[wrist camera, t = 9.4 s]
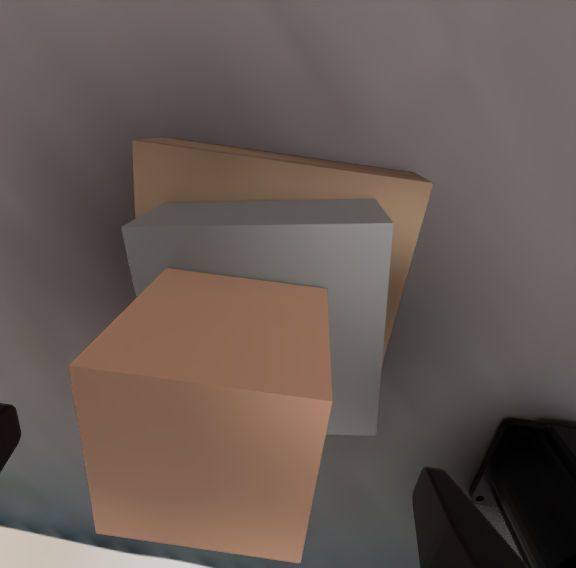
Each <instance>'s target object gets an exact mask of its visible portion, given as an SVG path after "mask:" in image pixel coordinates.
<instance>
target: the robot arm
mask: <svg viewBox="0 0 576 568" xmlns="http://www.w3.org/2000/svg"><path fill="white" fill-rule="evenodd" d="M512 428H513V429H512ZM20 437H21V429H20V424H19V420H18V415H17V411H16V408H15V407H14V406H13V405H10V404H3V403H0V472H1V471H2V469H3V467H4V466H5V464H6V462H7V461H8V459H9V458H10V456H11V454H12V453H13V451H14V450H15V448H16V446H17V445H18V443H19V440H20ZM469 495H470V497H471V500H472V501H471V500H470V499H469V498H468V497H467V496H466V494H465V493H464V492H463V491H462V490H461V489H460V487H459V486H458V485H457V484H456V483H455V482H454V480H453V479H452V478H451V477H450V476H449V475H448V474H447V472H446V471H444V470H443V469H440V468H433V467H424V468H423V469H422V471H421V473H420V476H419V478H418V481H417V483H416V486H415V488H414V491H413V510H414V519H415V527H416V535H417V544H418V552H419V560H420V568H576V429H575V428H569V427H562V426H555V425H549V424H542V423H536V422H529V421H522V420H516V419H509V420H506V421H505V422H503V424H502V425H501V427H500V429H499V431H498V433H497V435H496V437H495V439H494V441H493V444H492V446H491V448H490V450H489V452H488V454H487V456H486V458H485V460H484V462H483V464H482V466H481V468H480V470H479V473H478V475H477V477H476V479H475V481H474V483H473V485H472V487H471V489H470V491H469ZM472 502H473V503H475V504H480V505H486V506H493V507H498V508H499V510H500V512H501V514H502V517H503V519H504V521H505V523H506V525H507V527H508V529H509V532H510V534H511V536H512V538H513V540H514V542H515V544H516V547H517V549H518V551H519V553H520V555H521V557H522V559H523V561H522V559H521V558H520V557H519V556H518V555H517V554H516V552H515V551H514V550H513V549H512V548H511V547H510V545H509V544H508V543H507V542H506V541H505V540H504V538H503V537H502V536H501V535H500V534H499V533H498V532H497V530H496V529H495V528H494V527H493V526H492V525H491V523H490V522H489V521H488V520H487V519H486V518H485V516H484V515H483V514H482V513H481V512H480V511H479V509H478V508H477V507H476V506H475V505H474V504H473V503H472Z"/></svg>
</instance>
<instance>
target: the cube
mask: <svg viewBox="0 0 576 568" xmlns="http://www.w3.org/2000/svg"><path fill="white" fill-rule="evenodd" d="M69 371H70V377H71V384H72V390H73V396H74V402H75V408H76V414H77V420H78V426H79V432H80V438H81V444H82V450H83V456H84V462H85V468H86V474H87V480H88V486H89V492H90V499H91V505H92V511H93V517H94V523H95V529H96V533H97V534H104V535H111V536H118V537H125V538H131V539H138V540H145V541H152V542H159V543H165V544H172V545H179V546H186V547H193V548H199V549H206V550H213V551H220V552H227V553H233V554H240V555H247V556H254V557H261V558H267V559H274V560H281V561H288V562H295V563H300V562H301V557H302V552H303V547H304V542H305V537H306V532H307V527H308V522H309V517H310V512H311V507H312V502H313V497H314V492H315V487H316V482H317V477H318V472H319V466H320V461H321V456H322V451H323V446H324V441H325V436H326V431H327V426H328V421H329V416H330V411H331V406H332V382H331V360H330V338H329V316H328V294H327V289H326V288H319V287H311V286H303V285H295V284H287V283H280V282H272V281H264V280H256V279H248V278H241V277H233V276H225V275H217V274H209V273H202V272H194V271H186V270H178V269H170V268H166V269H165V270H164V271H163V272H162V273H161V274H160V275H159V276H158V277H157V278H156V279H155V280H154V281H153V282H152V283H151V284H150V285H149V286H148V287H147V288H146V289H145V290H144V291H143V292H142V293H141V294H140V295H139V296H138V297H137V298H136V299H135V300H134V301H133V302H132V303H131V304H130V305H129V306H128V307H127V308H126V309H125V310H124V311H123V312H122V313H121V314H120V315H119V316H118V317H117V318H116V319H115V320H114V321H113V322H112V323H111V324H110V325H109V326H108V327H107V328H106V329H105V330H104V331H103V332H102V333H101V334H100V335H99V336H98V337H97V338H96V339H95V340H94V341H93V342H92V343H91V344H90V345H89V346H88V347H87V348H86V349H85V350H84V351H83V352H82V353H81V354H80V355H79V356H78V357H77V358H76V359H75V360H74V361H73V362H72V363H71V364H70V365H69Z"/></svg>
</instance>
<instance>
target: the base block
mask: <svg viewBox="0 0 576 568" xmlns="http://www.w3.org/2000/svg"><path fill="white" fill-rule="evenodd" d="M132 150H133V177H134V203H135V219H136V218H138V217H140V216H141V215H143V214H145V213H147V212H148V211H150V210H152V209H154V208H155V207H157V206H159V205H161V204H162V203H179V202H229V201H280V200H331V199H376V200H377V202H378V203H379V204H380V206H381V207H382V208H383V210H384V211H385V212H386V214H387V215H388V216H389V218H390V219H391V220H392V222H393V235H392V247H391V260H390V272H389V284H388V296H387V308H386V321H385V333H384V345H383V357H382V364H383V361H384V357H385V353H386V350H387V346H388V343H389V339H390V336H391V332H392V329H393V325H394V321H395V318H396V314H397V311H398V307H399V304H400V300H401V296H402V293H403V289H404V286H405V282H406V279H407V275H408V272H409V268H410V264H411V261H412V257H413V254H414V250H415V247H416V243H417V239H418V236H419V232H420V229H421V225H422V222H423V218H424V214H425V211H426V207H427V204H428V200H429V197H430V193H431V190H432V186H433V183H432V182H430V181H429V180H427V179H425V178H423V177H421V176H419V175H418V174H416V173H414V172H407V171H400V170H393V169H386V168H379V167H372V166H365V165H358V164H351V163H344V162H337V161H329V160H322V159H315V158H308V157H301V156H294V155H287V154H280V153H273V152H266V151H259V150H252V149H245V148H238V147H231V146H224V145H217V144H210V143H203V142H196V141H189V140H182V139H175V138H168V137H155V138H147V139H139V140H132Z"/></svg>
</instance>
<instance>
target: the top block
mask: <svg viewBox="0 0 576 568" xmlns="http://www.w3.org/2000/svg"><path fill="white" fill-rule="evenodd" d="M121 230H122V235H123V239H124V244H125V249H126V253H127V258H128V262H129V267H130V272H131V276H132V281H133V286H134V290H135V295H136V298H137V297H138V296H139V295H140V294H141V293H142V292H143V291H144V290H145V289H146V288H147V287H148V286H149V285H150V284H151V283H152V282H153V281H154V280H155V279H156V278H157V277H158V276H159V275H160V274H161V273H162V272H163V271H164V270H165V269H166V268H170V269H178V270H186V271H194V272H202V273H209V274H217V275H225V276H233V277H241V278H248V279H256V280H264V281H272V282H280V283H287V284H295V285H303V286H311V287H319V288H326V289H327V294H328V316H329V338H330V360H331V382H332V406H331V411H330V416H329V421H328V426H327V431H326V434H331V435H371V436H376V431H377V418H378V406H379V394H380V382H381V370H382V357H383V345H384V333H385V321H386V308H387V296H388V284H389V272H390V260H391V247H392V235H393V222H392V220H391V219H390V218H389V216H388V215H387V214H386V212H385V211H384V210H383V208H382V207H381V206H380V204H379V203H378V202H377V200H376V199H331V200H280V201H229V202H179V203H162V204H161V205H159V206H157V207H155V208H154V209H152V210H150V211H148V212H147V213H145V214H143V215H141V216H140V217H138V218H136V219H134V220H133V221H131V222H129V223H127V224H126V225H124V226H122V227H121Z"/></svg>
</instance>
